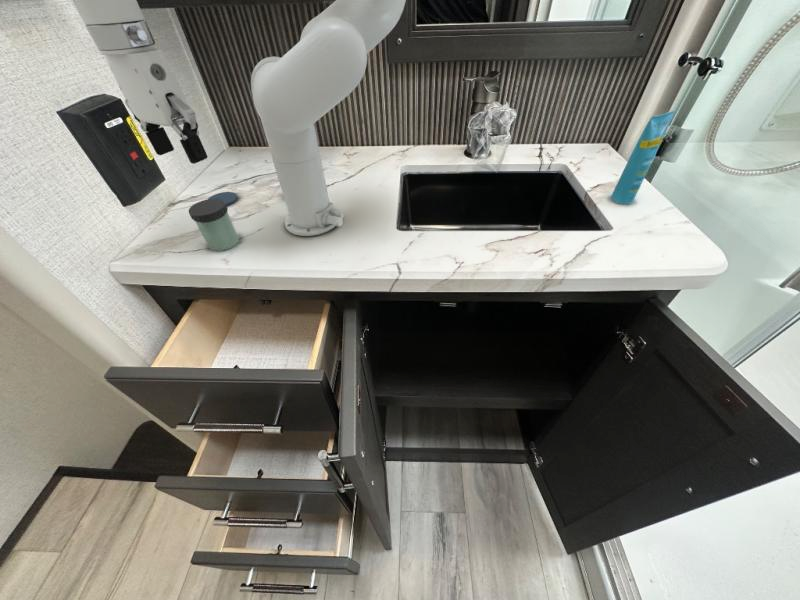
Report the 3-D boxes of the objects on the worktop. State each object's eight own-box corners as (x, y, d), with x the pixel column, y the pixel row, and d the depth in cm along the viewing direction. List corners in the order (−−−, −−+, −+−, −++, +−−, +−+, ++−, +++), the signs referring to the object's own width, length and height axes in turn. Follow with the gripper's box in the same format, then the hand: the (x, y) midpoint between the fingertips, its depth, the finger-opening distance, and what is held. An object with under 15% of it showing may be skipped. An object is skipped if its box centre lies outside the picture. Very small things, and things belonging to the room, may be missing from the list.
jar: (245, 238, 74) (231, 205, 68) (223, 254, 70) (205, 219, 64) (225, 232, 76) (209, 199, 70) (202, 246, 72) (183, 213, 66)
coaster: (244, 197, 88) (243, 194, 88) (221, 210, 83) (220, 208, 83) (223, 191, 91) (223, 189, 90) (201, 204, 86) (200, 202, 86)
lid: (235, 209, 69) (232, 202, 68) (207, 225, 64) (204, 218, 63) (211, 202, 71) (208, 196, 70) (184, 218, 67) (180, 211, 66)
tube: (622, 208, 78) (665, 119, 64) (603, 200, 81) (641, 113, 67) (639, 199, 80) (685, 111, 67) (620, 191, 83) (660, 106, 70)
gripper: (183, 36, 48) (230, 156, 60) (117, 34, 54) (172, 143, 66) (132, 44, 43) (195, 172, 55) (66, 41, 49) (135, 156, 61)
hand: (182, 156), depth 61 cm, fingers open, 9 cm apart
